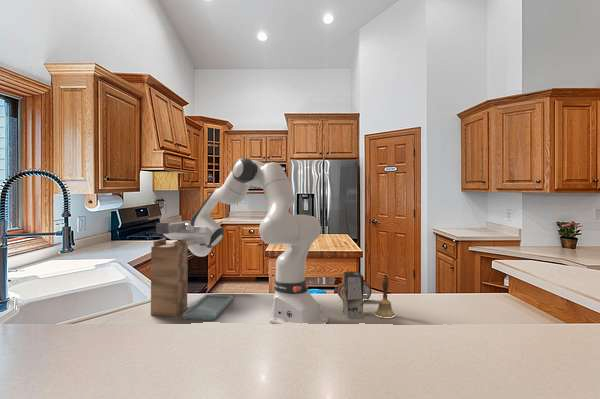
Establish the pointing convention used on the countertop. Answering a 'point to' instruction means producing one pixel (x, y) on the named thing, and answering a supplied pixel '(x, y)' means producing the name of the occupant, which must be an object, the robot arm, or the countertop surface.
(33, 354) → the countertop surface
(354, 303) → the coffee box
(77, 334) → the countertop surface
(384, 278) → the hand bell
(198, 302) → the tray
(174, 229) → the gray rectangular bar
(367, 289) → the tin
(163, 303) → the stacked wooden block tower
